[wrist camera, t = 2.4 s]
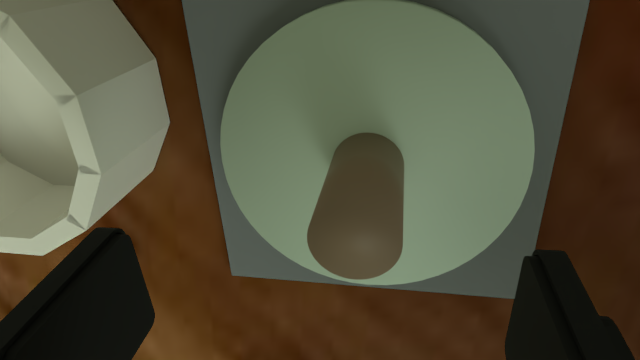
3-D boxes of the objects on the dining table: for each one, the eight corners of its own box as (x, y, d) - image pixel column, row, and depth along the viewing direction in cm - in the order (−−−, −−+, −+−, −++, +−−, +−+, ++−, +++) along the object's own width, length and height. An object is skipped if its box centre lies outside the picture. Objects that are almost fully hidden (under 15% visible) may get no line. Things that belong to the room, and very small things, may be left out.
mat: (595, -46, 14) (599, -46, 14) (521, 293, 20) (523, 299, 20) (181, -27, 16) (176, -26, 16) (234, 270, 23) (231, 275, 23)
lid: (556, -11, 14) (642, 18, 9) (504, 279, 20) (538, 400, 15) (206, 3, 16) (111, 34, 11) (248, 261, 22) (199, 361, 17)
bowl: (132, -46, 16) (33, -41, 12) (186, 197, 21) (129, 262, 17) (-96, -33, 18) (-254, -25, 14) (1, 187, 23) (-93, 244, 19)
